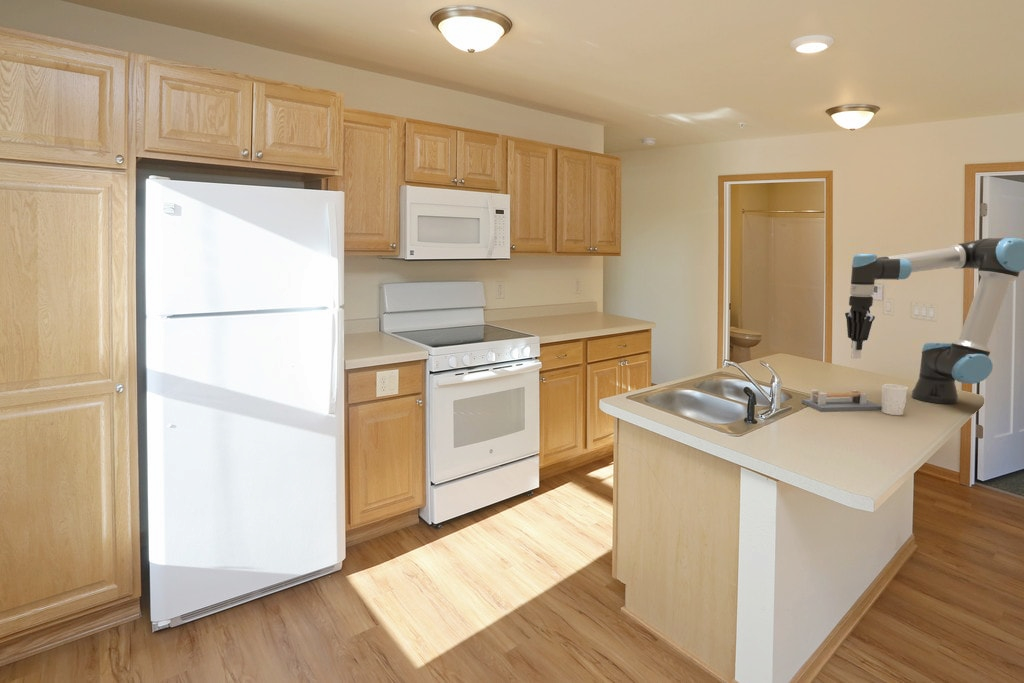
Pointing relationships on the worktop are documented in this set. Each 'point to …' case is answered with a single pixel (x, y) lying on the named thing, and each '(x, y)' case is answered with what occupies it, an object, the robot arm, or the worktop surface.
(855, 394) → the strap
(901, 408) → the white cup
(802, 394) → the worktop surface
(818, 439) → the worktop surface
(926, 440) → the worktop surface
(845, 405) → the mount
